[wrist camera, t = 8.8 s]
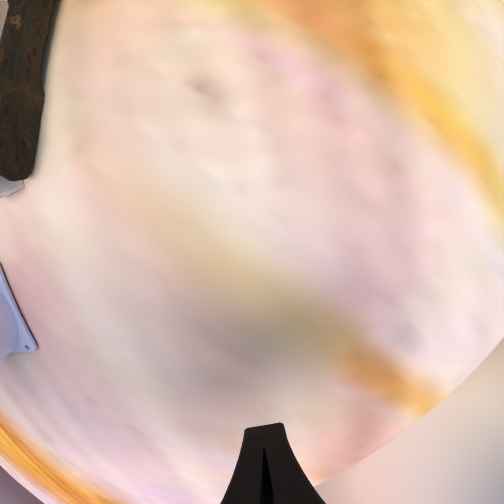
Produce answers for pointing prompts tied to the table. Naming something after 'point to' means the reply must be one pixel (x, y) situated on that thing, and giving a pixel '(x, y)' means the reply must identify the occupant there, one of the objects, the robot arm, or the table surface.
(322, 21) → the table surface
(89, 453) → the table surface
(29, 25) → the hand tool
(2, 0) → the stop rail
